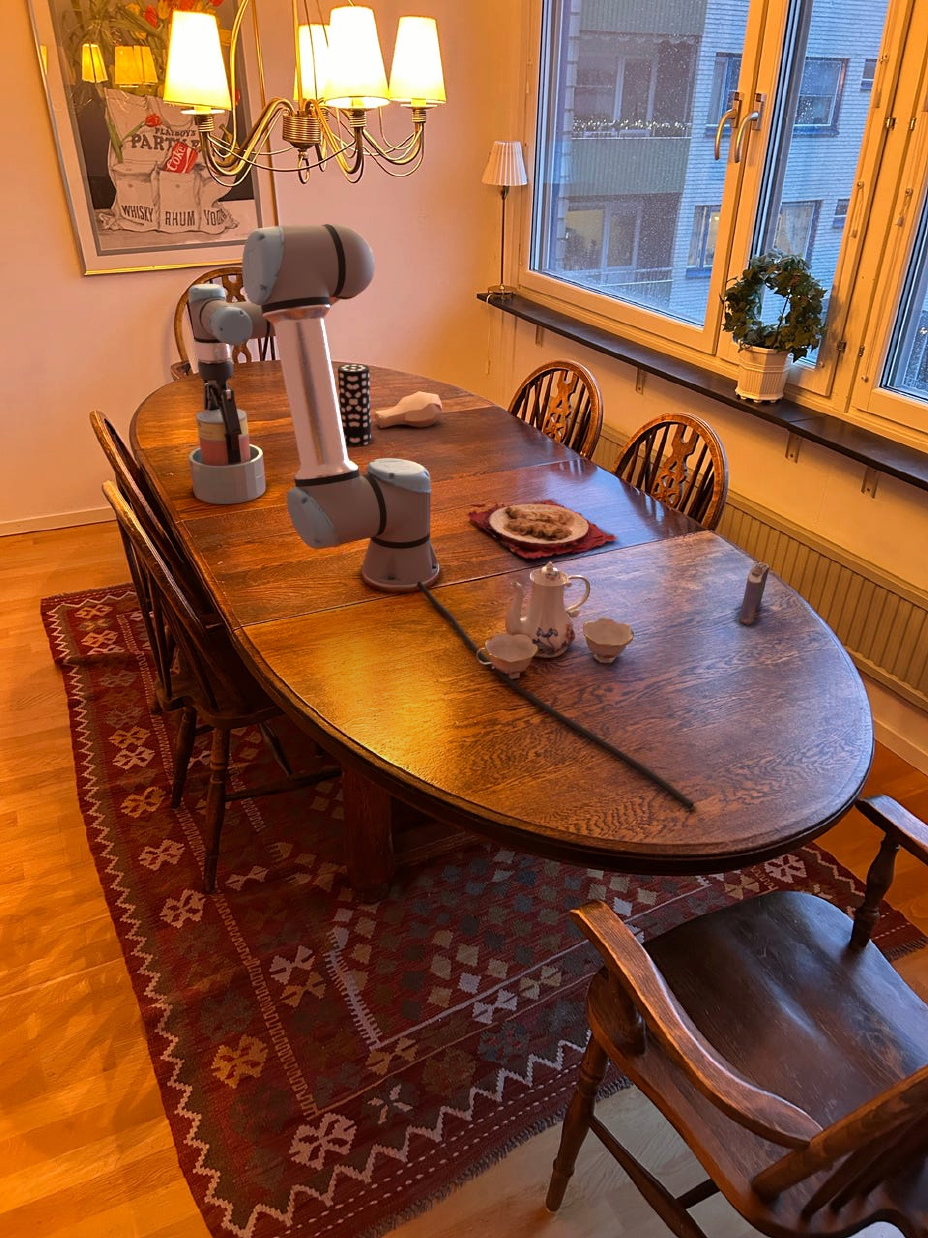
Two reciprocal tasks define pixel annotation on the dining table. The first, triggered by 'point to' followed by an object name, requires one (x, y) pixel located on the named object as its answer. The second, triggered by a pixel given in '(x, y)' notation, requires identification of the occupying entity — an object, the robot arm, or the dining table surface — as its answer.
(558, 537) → the plate with food
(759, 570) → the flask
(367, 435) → the white-spotted black cylinder
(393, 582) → the robot arm
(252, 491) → the pot
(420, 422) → the squash
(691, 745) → the dining table surface
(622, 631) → the chinaware
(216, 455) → the canned food
